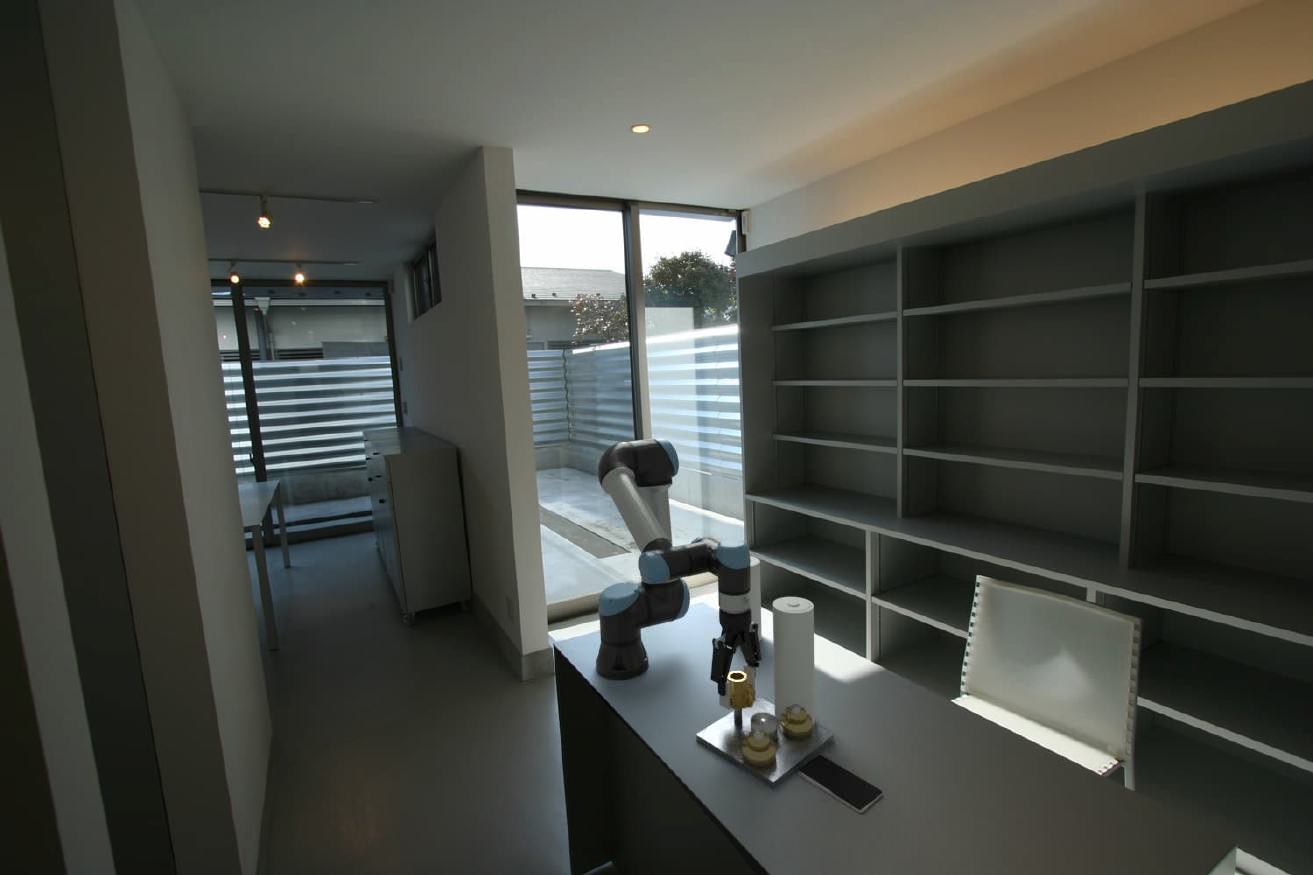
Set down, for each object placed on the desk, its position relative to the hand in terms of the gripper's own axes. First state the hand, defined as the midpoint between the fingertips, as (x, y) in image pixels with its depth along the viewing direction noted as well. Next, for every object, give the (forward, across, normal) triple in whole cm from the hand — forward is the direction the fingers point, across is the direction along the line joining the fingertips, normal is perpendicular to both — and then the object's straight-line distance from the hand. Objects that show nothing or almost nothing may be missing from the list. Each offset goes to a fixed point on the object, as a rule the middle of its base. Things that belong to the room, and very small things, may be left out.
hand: (737, 698), depth 141 cm
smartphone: (+8, 0, -27) cm, 28 cm away
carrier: (+7, 0, -8) cm, 10 cm away
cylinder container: (+7, +11, -8) cm, 16 cm away
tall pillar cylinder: (+7, +36, +28) cm, 46 cm away
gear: (0, 0, 0) cm, 0 cm away
